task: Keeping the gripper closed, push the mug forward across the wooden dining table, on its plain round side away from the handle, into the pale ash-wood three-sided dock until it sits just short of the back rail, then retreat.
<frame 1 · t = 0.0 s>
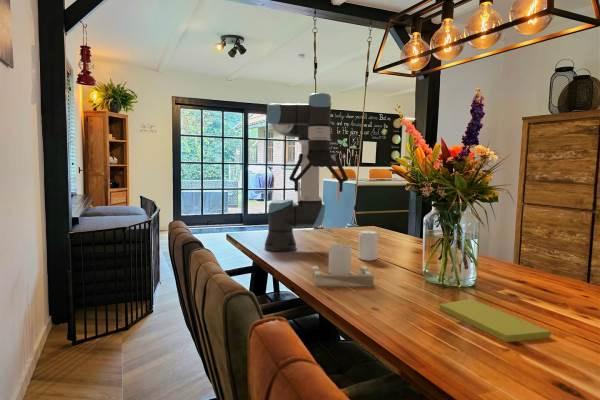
hand: (318, 201, 135), 28 cm above the table, fingers open, 13 cm apart
beverage can: (367, 259, 168), on the table
mug: (337, 272, 147), on the table
dock: (341, 279, 137), on the table
flat olive board: (490, 325, 102), on the table
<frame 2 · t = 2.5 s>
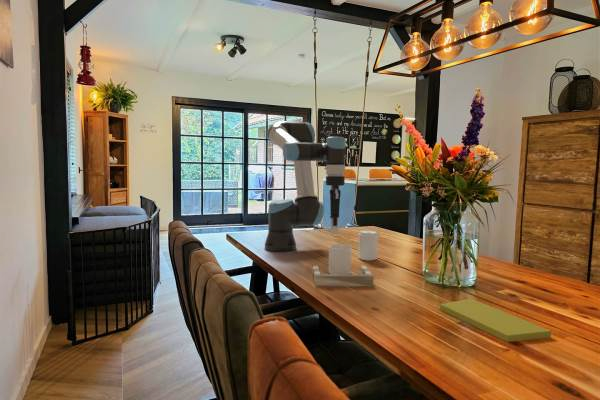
hand: (334, 233, 158), 13 cm above the table, fingers closed
nothing on the table moved.
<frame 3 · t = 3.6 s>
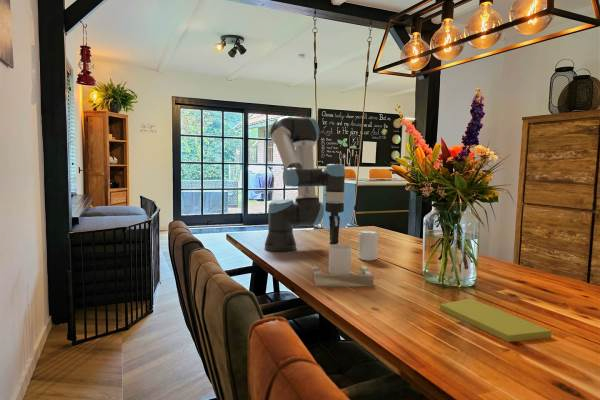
hand: (333, 259, 159), 2 cm above the table, fingers closed
nothing on the table moved.
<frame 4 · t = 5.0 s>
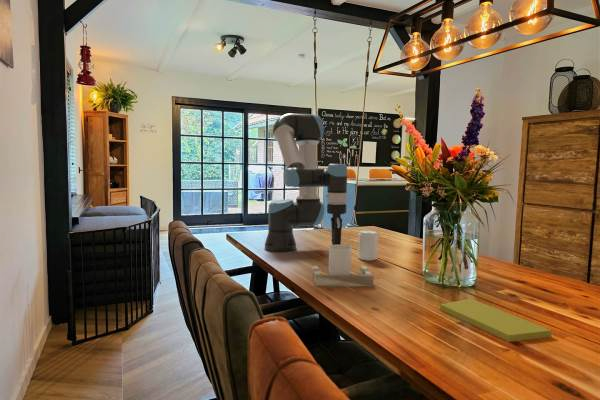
hand: (335, 262, 153), 2 cm above the table, fingers closed
mug: (337, 273, 147), on the table, touching gripper
everything else where it was.
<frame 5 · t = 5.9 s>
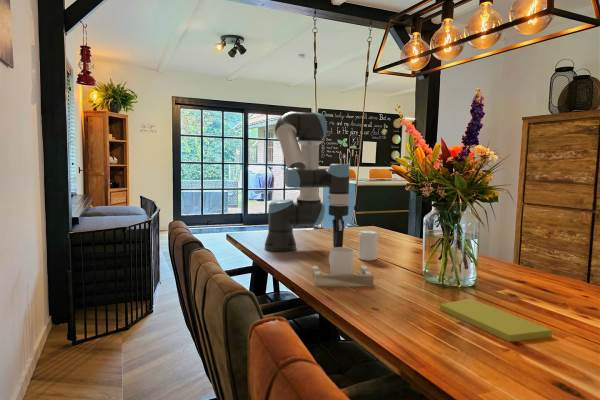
hand: (337, 265, 148), 2 cm above the table, fingers closed
mug: (338, 276, 142), on the table, touching gripper
everything else where it was.
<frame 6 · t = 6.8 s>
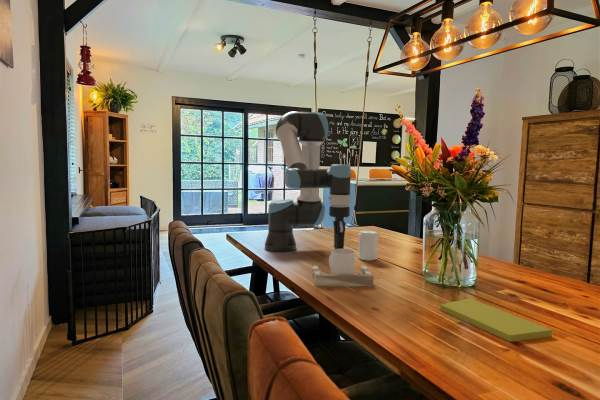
hand: (338, 267, 146), 2 cm above the table, fingers closed
mug: (339, 278, 140), on the table, touching gripper
everything else where it was.
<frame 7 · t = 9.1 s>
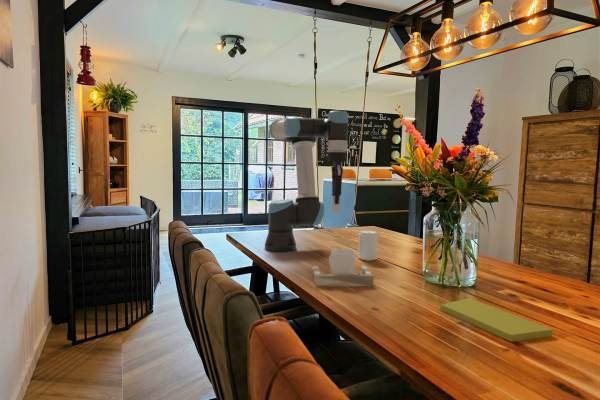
hand: (336, 212, 152), 22 cm above the table, fingers closed
mug: (339, 278, 140), on the table
everything else where it was.
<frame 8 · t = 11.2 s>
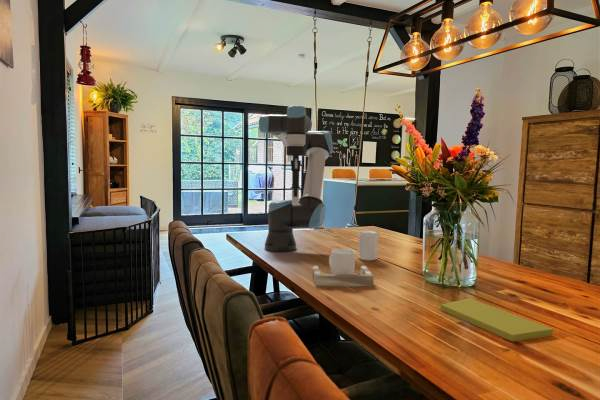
hand: (295, 204, 156), 24 cm above the table, fingers closed
nothing on the table moved.
at the end: mug inside the target area (2.1 cm from its centre), on the table; mug tilted 0°; mug moved 7.8 cm from its start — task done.
